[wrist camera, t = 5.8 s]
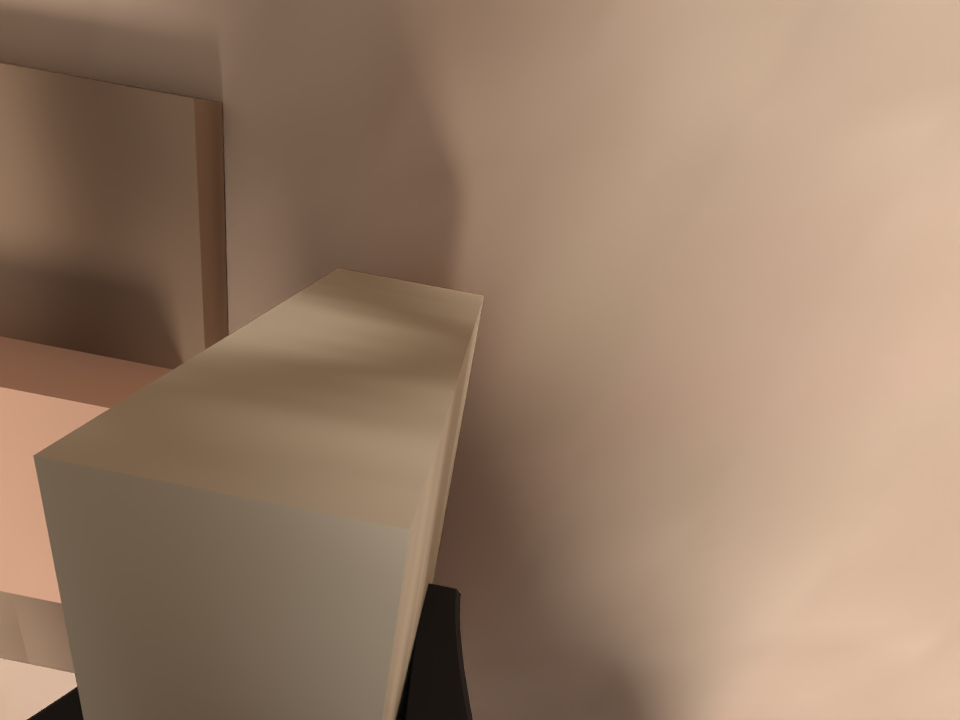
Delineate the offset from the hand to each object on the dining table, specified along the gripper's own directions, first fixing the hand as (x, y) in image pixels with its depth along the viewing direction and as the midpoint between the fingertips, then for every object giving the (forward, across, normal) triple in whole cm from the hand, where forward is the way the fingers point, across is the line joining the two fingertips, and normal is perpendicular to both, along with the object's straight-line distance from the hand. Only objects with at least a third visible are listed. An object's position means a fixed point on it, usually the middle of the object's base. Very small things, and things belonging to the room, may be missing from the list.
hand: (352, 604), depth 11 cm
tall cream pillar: (+2, 0, 0) cm, 2 cm away
